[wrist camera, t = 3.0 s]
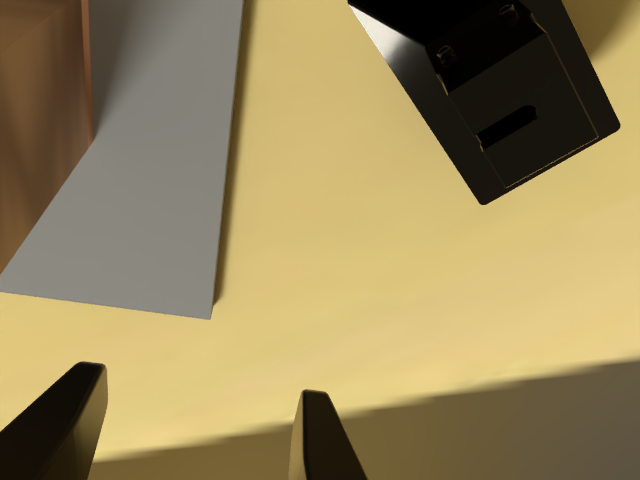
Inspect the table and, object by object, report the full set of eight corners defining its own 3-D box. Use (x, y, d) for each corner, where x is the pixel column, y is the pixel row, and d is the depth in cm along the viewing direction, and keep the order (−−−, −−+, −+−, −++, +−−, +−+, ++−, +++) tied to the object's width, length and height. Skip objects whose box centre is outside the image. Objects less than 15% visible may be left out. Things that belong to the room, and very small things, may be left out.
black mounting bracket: (292, -36, 19) (284, 3, 15) (510, -207, 16) (566, -212, 12) (478, 235, 24) (506, 311, 21) (659, 139, 22) (728, 206, 18)
